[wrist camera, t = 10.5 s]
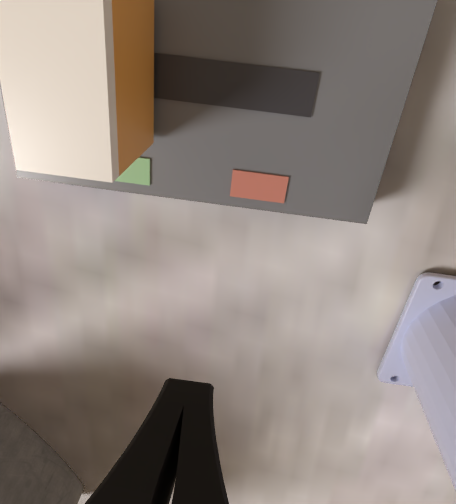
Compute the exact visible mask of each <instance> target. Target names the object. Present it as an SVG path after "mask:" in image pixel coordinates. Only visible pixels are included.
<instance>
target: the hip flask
mask: <svg viewBox="0 0 456 504" xmlns="http://www.w3.org/2000/svg"><path fill="white" fill-rule="evenodd" d="M82 491H83V485H82V483H81V482H80V480H79V479H78V478H77V476H76V475H75V474H74V473H73V471H72V470H71V469H70V468H69V466H68V465H67V464H66V463H65V462H64V461H63V460H62V459H61V458H60V456H59V455H58V454H57V453H56V452H55V451H54V450H53V449H52V448H51V447H50V446H49V445H48V444H47V443H46V442H45V441H44V440H43V439H42V438H41V437H40V436H38V435H37V434H36V433H35V432H34V431H33V430H32V429H31V428H30V427H29V426H28V425H26V424H25V423H24V422H23V421H22V420H21V419H20V418H18V417H17V416H16V415H15V414H13V413H12V412H11V411H10V410H9V409H7V408H6V407H5V406H4V405H2V404H1V403H0V504H77V503H78V501H79V499H80V496H81V494H82Z"/></svg>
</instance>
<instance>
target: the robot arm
mask: <svg viewBox="0 0 456 504" xmlns="http://www.w3.org/2000/svg"><path fill="white" fill-rule="evenodd" d="M437 281H440V283H439V284H437V285H433V284H434V283H435V282H437ZM392 376H394V377H392ZM377 377H378V379H379V381H381V382H384V383H390V384H397V385H404V386H411V387H414V389H415V392H416V394H417V397H418V399H419V402H420V404H421V407H422V409H423V412H424V414H425V417H426V419H427V421H428V424H429V426H430V429H431V431H432V434H433V436H434V439H435V441H436V444H437V446H438V449H439V451H440V454H441V456H442V459H443V461H444V464H445V466H446V468H447V471H448V473H449V476H450V478H451V481H452V483H453V486H454V488H455V491H456V276H452V275H444V274H437V273H430V272H429V273H423V274H421V275H419V276H418V278H417V279H416V281H415V284H414V286H413V288H412V291H411V293H410V296H409V298H408V300H407V303H406V305H405V307H404V310H403V312H402V314H401V317H400V319H399V322H398V324H397V326H396V329H395V331H394V333H393V336H392V338H391V340H390V343H389V345H388V347H387V350H386V352H385V355H384V357H383V359H382V362H381V364H380V366H379V369H378V371H377ZM213 389H214V387H213V386H212V385H211V384H208V383H201V382H193V381H186V380H179V379H171V378H169V379H167V380H166V381H165V383H164V385H163V388H162V390H161V392H160V394H159V396H158V398H157V400H156V401H155V403H154V405H153V407H152V409H151V410H150V412H149V414H148V415H147V417H146V419H145V420H144V422H143V424H142V425H141V427H140V428H139V430H138V431H137V433H136V435H135V436H134V438H133V439H132V441H131V442H130V444H129V445H128V447H127V448H126V450H125V451H124V453H123V454H122V455H121V457H120V458H119V459H118V461H117V462H116V464H115V465H114V466H113V468H112V469H111V471H110V472H109V473H108V475H107V476H106V477H105V479H104V480H103V481H102V483H101V484H100V485H99V487H98V488H97V489H96V490H95V492H94V493H93V494H92V495H91V497H90V498H89V499H88V500H87V501H86V503H85V504H169V502H170V498H171V494H172V490H173V487H174V483H175V488H174V494H173V499H172V504H229V502H228V498H227V494H226V489H225V485H224V480H223V476H222V471H221V466H220V460H219V454H218V448H217V442H216V435H215V427H214V416H213ZM175 479H176V481H175Z"/></svg>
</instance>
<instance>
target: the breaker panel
mask: <svg viewBox="0 0 456 504" xmlns="http://www.w3.org/2000/svg"><path fill="white" fill-rule="evenodd" d="M436 4H437V0H154V143H153V144H152V145H151V146H150V147H149V148H148V149H147V150H146V151H145V152H144V153H143V154H142V155H141V156H140V157H139V158H138V159H136V160H135V161H134V162H133V163H132V164H131V165H130V166H129V167H128V168H127V169H126V170H125V171H124V172H123V173H122V174H121V175H120V176H119V177H118V178H117V179H116V180H115V181H114V182H113V183H111V182H103V181H96V180H88V179H81V178H73V177H66V176H58V175H50V174H43V173H35V172H28V171H20V170H16V175H17V178H24V179H31V180H39V181H46V182H54V183H62V184H69V185H77V186H84V187H92V188H99V189H107V190H114V191H122V192H129V193H137V194H144V195H152V196H159V197H167V198H174V199H182V200H190V201H197V202H205V203H212V204H220V205H227V206H235V207H242V208H250V209H257V210H265V211H272V212H280V213H287V214H295V215H303V216H310V217H318V218H325V219H333V220H340V221H348V222H355V223H363V224H367V221H368V218H369V215H370V212H371V209H372V206H373V202H374V199H375V196H376V193H377V190H378V187H379V183H380V180H381V177H382V174H383V171H384V168H385V165H386V161H387V158H388V155H389V152H390V149H391V146H392V142H393V139H394V136H395V133H396V130H397V127H398V124H399V120H400V117H401V114H402V111H403V108H404V105H405V101H406V98H407V95H408V92H409V89H410V86H411V83H412V79H413V76H414V73H415V70H416V67H417V64H418V60H419V57H420V54H421V51H422V48H423V45H424V41H425V38H426V35H427V32H428V29H429V26H430V23H431V19H432V16H433V13H434V10H435V7H436ZM0 87H1V84H0ZM1 93H2V89H1ZM2 98H3V95H2ZM3 104H4V100H3ZM4 109H5V106H4ZM5 115H6V111H5ZM6 120H7V117H6ZM7 126H8V122H7ZM8 131H9V128H8ZM9 137H10V133H9ZM10 142H11V139H10ZM11 148H12V144H11ZM12 153H13V150H12ZM13 159H14V155H13ZM14 164H15V161H14ZM15 169H16V166H15Z"/></svg>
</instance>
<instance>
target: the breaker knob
mask: <svg viewBox="0 0 456 504" xmlns="http://www.w3.org/2000/svg"><path fill="white" fill-rule="evenodd" d="M0 84H1V89H2V95H3V100H4V106H5V111H6V117H7V122H8V128H9V133H10V139H11V144H12V150H13V155H14V161H15V166H16V170H20V171H28V172H35V173H43V174H50V175H58V176H66V177H73V178H81V179H88V180H96V181H103V182H111V183H113V182H114V181H115V180H116V179H117V178H118V177H119V176H120V175H121V174H122V173H123V172H124V171H125V170H126V169H127V168H128V167H129V166H130V165H131V164H132V163H133V162H134V161H135V160H136V159H138V158H139V157H140V156H141V155H142V154H143V153H144V152H145V151H146V150H147V149H148V148H149V147H150V146H151V145H152V144H153V143H154V0H0Z"/></svg>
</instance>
